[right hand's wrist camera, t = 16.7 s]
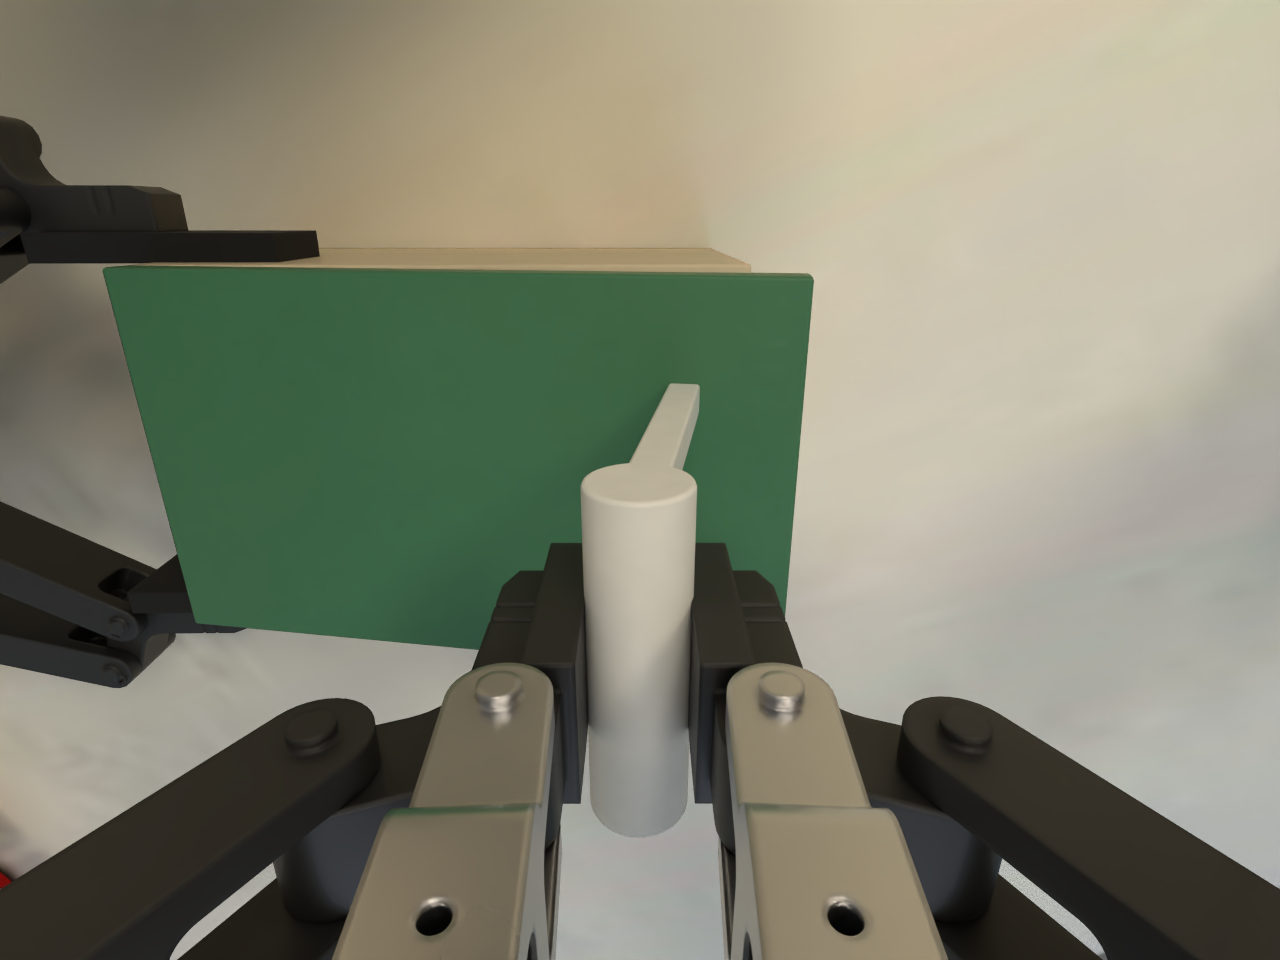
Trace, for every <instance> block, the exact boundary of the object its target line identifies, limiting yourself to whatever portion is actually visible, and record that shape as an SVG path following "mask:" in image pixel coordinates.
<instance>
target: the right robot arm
mask: <svg viewBox="0 0 1280 960" xmlns="http://www.w3.org/2000/svg"><path fill="white" fill-rule="evenodd" d="M587 732H588V694H587V663H586V632H585V601H584V581H583V551H582V543H551V545H550V548H549V552H548V556H547V559H546V563H545V567H544V571H519V572H518V573H517V574H515V575H514V576H513V577H512V578H511V579H510V580H508V581H507V582H506V583H505V584H504V585H503V586H502V588H501V591H500V594H499V596H498V599H497V602H496V607H494V610H493V613H492V616H491V621H490V622H489V624H488V627H487V629H486V632H485V635H484V638H483V640H482V643H481V646H480V649H479V651H478V654H477V657H476V660H475V662H474V665H473V668H472V671H470V672H468V673H466V674H465V675H463V676H462V677H460V678H459V679H457V680H456V681H455V682H454V683H453V684H452V685H451V686H450V688H449V689H448V690H447V692H446V695H445V697H444V700H443V703H442V706H440V707H438V708H436V709H434V710H432V711H429V712H426V713H424V714H421V715H418V716H414V717H410V718H406V719H402V720H397V721H393V722H388V723H384V724H379V725H375V719H374V716H373V714H372V712H371V710H370V709H369V708H368V707H367V706H365V705H363V704H362V703H360V702H357V701H354V700H350V699H342V698H331V699H322V700H316V701H312V702H308V703H305V704H302V705H299V706H296V707H294V708H292V709H290V710H287V711H285V712H284V713H282V714H280V715H278V716H276V717H275V718H273V719H272V720H270V721H268V722H267V723H265V724H264V725H262V726H260V727H259V728H257V729H256V730H254V731H252V732H251V733H249V734H248V735H246V736H244V737H243V738H241V739H240V740H238V741H236V742H235V743H233V744H232V745H230V746H228V747H227V748H225V749H224V750H222V751H220V752H219V753H217V754H216V755H214V756H212V757H211V758H209V759H208V760H206V761H205V762H203V763H201V764H200V765H198V766H197V767H195V768H193V769H192V770H190V771H189V772H187V773H185V774H184V775H182V776H181V777H179V778H177V779H176V780H174V781H173V782H171V783H169V784H168V785H166V786H165V787H163V788H161V789H160V790H158V791H157V792H155V793H153V794H152V795H150V796H149V797H147V798H145V799H144V800H142V801H141V802H139V803H137V804H136V805H134V806H133V807H131V808H129V809H128V810H126V811H125V812H123V813H121V814H120V815H118V816H117V817H115V818H113V819H112V820H110V821H109V822H107V823H105V824H104V825H102V826H101V827H99V828H97V829H96V830H94V831H93V832H91V833H89V834H88V835H86V836H85V837H83V838H81V839H80V840H78V841H77V842H75V843H73V844H72V845H70V846H69V847H67V848H65V849H64V850H62V851H61V852H59V853H57V854H56V855H54V856H53V857H51V858H49V859H48V860H46V861H45V862H43V863H41V864H40V865H38V866H37V867H35V868H33V869H32V870H30V871H29V872H27V873H25V874H24V875H22V876H21V877H19V878H17V879H16V880H14V881H13V882H11V883H9V884H8V885H6V886H5V887H3V888H1V889H0V960H169V959H170V956H171V955H172V953H173V951H174V949H175V947H176V946H177V944H178V943H179V941H180V940H181V939H182V938H183V936H184V935H185V934H186V933H187V932H188V931H189V930H190V929H191V928H192V927H193V926H194V925H195V924H196V923H197V922H199V921H200V920H201V919H202V918H204V917H205V916H206V915H207V914H209V913H210V912H211V911H212V910H214V909H215V908H216V907H217V906H219V905H220V904H221V903H222V902H224V901H225V900H226V899H227V898H229V897H230V896H231V895H232V894H234V893H235V892H236V891H237V890H239V889H240V888H241V887H242V886H244V885H245V884H246V883H247V882H249V881H250V880H251V879H252V878H254V877H255V876H256V875H257V874H259V873H260V872H261V871H262V870H264V869H265V868H266V867H267V866H269V865H270V864H271V863H272V862H273V865H274V868H275V872H276V876H277V878H276V879H275V880H273V881H272V882H271V883H270V884H269V885H267V886H266V887H265V888H264V889H263V890H261V891H260V892H259V893H258V894H256V895H255V896H254V897H253V898H252V899H250V900H249V901H248V902H247V903H246V904H244V905H243V906H242V907H241V908H239V909H238V910H237V911H236V912H235V913H233V914H232V915H231V916H230V917H229V918H227V919H226V920H225V921H224V922H223V923H221V924H220V925H219V926H218V927H216V928H215V929H214V930H213V931H212V932H210V933H209V934H208V935H207V936H206V937H204V938H203V939H202V940H201V941H199V942H198V943H197V944H196V945H195V946H193V947H192V948H191V949H190V950H189V951H187V952H186V953H185V954H184V955H182V956H181V957H180V958H179V959H178V960H555V958H556V941H557V925H558V908H559V892H560V875H561V859H562V844H561V826H560V820H561V813H562V805H563V804H580V803H581V793H582V783H583V773H584V762H585V752H586V742H587ZM688 732H689V743H690V754H691V765H692V776H693V787H694V798H695V803H713V812H714V820H715V826H716V831H717V833H718V835H719V844H718V859H719V876H720V892H721V908H722V925H723V941H724V958H725V960H1102V959H1101V958H1100V957H1099V956H1097V955H1096V954H1095V953H1094V952H1093V951H1091V950H1090V949H1089V948H1088V947H1087V946H1085V945H1084V944H1083V943H1082V942H1081V941H1079V940H1078V939H1077V938H1076V937H1074V936H1073V935H1072V934H1071V933H1070V932H1068V931H1067V930H1066V929H1065V928H1064V927H1062V926H1061V925H1060V924H1059V923H1057V922H1056V921H1055V920H1054V919H1053V918H1051V917H1050V916H1049V915H1048V914H1047V913H1045V912H1044V911H1043V910H1042V909H1040V908H1039V907H1038V906H1037V905H1036V904H1034V903H1033V902H1032V901H1031V900H1030V899H1028V898H1027V897H1026V896H1025V895H1024V894H1022V893H1021V892H1020V891H1019V890H1017V889H1016V888H1015V887H1014V886H1013V885H1011V884H1010V883H1009V882H1008V881H1007V880H1005V879H1004V878H1003V877H1002V876H1000V875H999V874H998V873H999V869H1000V865H1001V861H1002V858H1003V859H1004V860H1005V861H1006V862H1008V863H1009V864H1010V865H1011V866H1013V867H1014V868H1015V869H1016V870H1018V871H1019V872H1020V873H1021V874H1023V875H1024V876H1025V877H1026V878H1028V879H1029V880H1030V881H1031V882H1033V883H1034V884H1035V885H1036V886H1038V887H1039V888H1040V889H1041V890H1043V891H1044V892H1045V893H1046V894H1048V895H1049V896H1050V897H1051V898H1053V899H1054V900H1055V901H1056V902H1058V903H1059V904H1060V905H1061V906H1063V907H1064V908H1065V909H1066V910H1068V911H1069V912H1070V913H1071V914H1073V915H1074V916H1075V917H1076V918H1078V919H1079V920H1080V921H1081V922H1082V923H1083V924H1084V925H1085V926H1086V927H1087V928H1088V929H1089V930H1090V931H1091V932H1092V933H1093V935H1094V936H1095V937H1096V938H1097V940H1098V941H1099V943H1100V944H1101V946H1102V948H1103V950H1104V952H1105V954H1106V956H1107V959H1108V960H1280V889H1279V888H1277V887H1275V886H1274V885H1272V884H1271V883H1269V882H1267V881H1266V880H1264V879H1263V878H1261V877H1259V876H1258V875H1256V874H1255V873H1253V872H1251V871H1250V870H1248V869H1247V868H1245V867H1243V866H1242V865H1240V864H1239V863H1237V862H1235V861H1234V860H1232V859H1231V858H1229V857H1227V856H1226V855H1224V854H1223V853H1221V852H1219V851H1218V850H1216V849H1215V848H1213V847H1211V846H1210V845H1208V844H1207V843H1205V842H1203V841H1202V840H1200V839H1199V838H1197V837H1195V836H1194V835H1192V834H1191V833H1189V832H1187V831H1186V830H1184V829H1183V828H1181V827H1179V826H1178V825H1176V824H1175V823H1173V822H1171V821H1170V820H1168V819H1167V818H1165V817H1163V816H1162V815H1160V814H1159V813H1157V812H1155V811H1154V810H1152V809H1151V808H1149V807H1147V806H1146V805H1144V804H1143V803H1141V802H1139V801H1138V800H1136V799H1135V798H1133V797H1131V796H1130V795H1128V794H1127V793H1125V792H1123V791H1122V790H1120V789H1119V788H1117V787H1115V786H1114V785H1112V784H1111V783H1109V782H1107V781H1106V780H1104V779H1103V778H1101V777H1099V776H1098V775H1096V774H1095V773H1093V772H1091V771H1090V770H1088V769H1087V768H1085V767H1083V766H1082V765H1080V764H1079V763H1077V762H1075V761H1074V760H1072V759H1071V758H1069V757H1067V756H1066V755H1064V754H1063V753H1061V752H1059V751H1058V750H1056V749H1055V748H1053V747H1051V746H1050V745H1048V744H1047V743H1045V742H1043V741H1042V740H1040V739H1039V738H1037V737H1035V736H1034V735H1032V734H1031V733H1029V732H1027V731H1026V730H1024V729H1023V728H1021V727H1019V726H1018V725H1016V724H1015V723H1013V722H1011V721H1010V720H1008V719H1007V718H1005V717H1003V716H1002V715H1000V714H999V713H997V712H995V711H993V710H991V709H989V708H987V707H985V706H983V705H980V704H977V703H975V702H972V701H968V700H964V699H960V698H953V697H929V698H925V699H921V700H919V701H916V702H914V703H913V704H911V705H910V706H909V707H908V708H907V709H906V711H905V713H904V715H903V720H902V726H901V725H896V724H892V723H887V722H883V721H878V720H874V719H869V718H865V717H861V716H858V715H854V714H852V713H849V712H846V711H844V710H842V709H840V708H839V706H838V703H837V700H836V697H835V695H834V692H833V690H832V689H831V688H830V686H829V685H828V684H827V683H826V682H825V681H824V680H823V679H821V678H820V677H818V676H817V675H815V674H814V673H812V672H810V671H808V670H805V669H803V667H802V664H801V661H800V658H799V656H798V653H797V650H796V647H795V644H794V641H793V639H792V636H791V633H790V630H789V627H788V625H787V622H785V616H784V613H783V610H782V608H781V607H780V602H779V599H778V596H777V593H776V591H775V588H774V585H772V584H771V583H770V582H769V581H768V580H767V579H765V578H764V577H763V576H762V575H761V574H760V573H759V572H757V571H756V570H732V567H731V563H730V559H729V555H728V551H727V547H726V544H725V543H695V570H694V597H693V600H692V615H691V648H690V680H689V713H688Z"/></svg>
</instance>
